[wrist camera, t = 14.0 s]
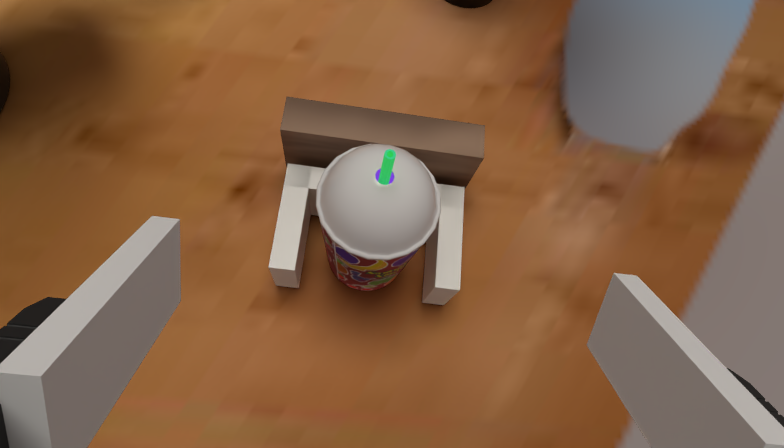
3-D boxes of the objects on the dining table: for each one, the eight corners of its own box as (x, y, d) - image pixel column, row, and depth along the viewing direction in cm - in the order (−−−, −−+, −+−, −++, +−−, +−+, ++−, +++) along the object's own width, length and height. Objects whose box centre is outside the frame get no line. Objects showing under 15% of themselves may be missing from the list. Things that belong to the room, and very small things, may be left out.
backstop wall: (454, 206, 49) (483, 157, 40) (289, 184, 48) (280, 129, 39) (455, 178, 50) (484, 125, 41) (294, 156, 49) (286, 96, 40)
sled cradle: (443, 305, 46) (459, 290, 40) (276, 285, 44) (268, 267, 39) (448, 213, 49) (464, 187, 43) (292, 192, 48) (287, 163, 42)
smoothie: (375, 321, 45) (409, 256, 26) (300, 266, 45) (281, 164, 27) (427, 249, 47) (491, 144, 29) (355, 199, 48) (373, 65, 30)
